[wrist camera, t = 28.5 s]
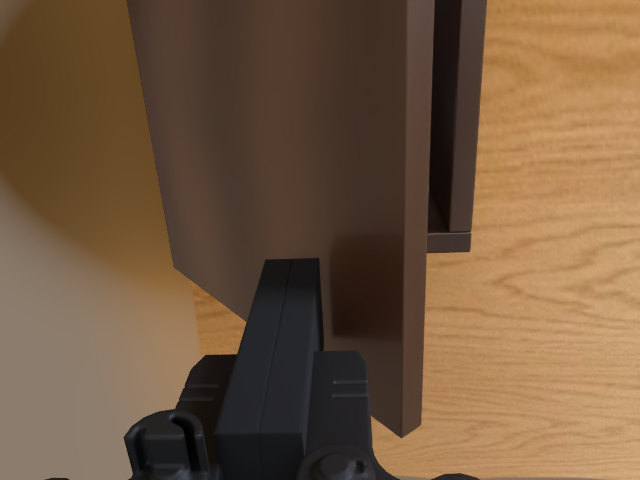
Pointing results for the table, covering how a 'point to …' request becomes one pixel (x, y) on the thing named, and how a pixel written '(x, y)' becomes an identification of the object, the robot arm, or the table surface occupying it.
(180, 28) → the lid
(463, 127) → the chest
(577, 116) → the table surface
